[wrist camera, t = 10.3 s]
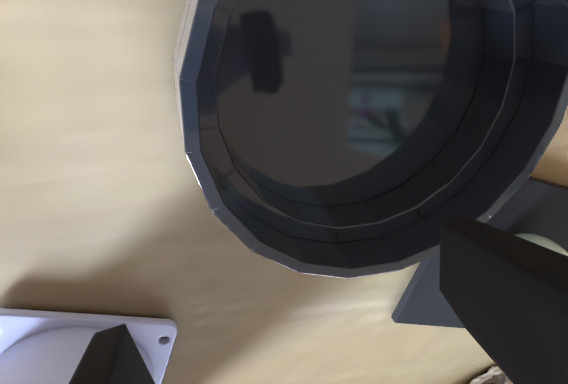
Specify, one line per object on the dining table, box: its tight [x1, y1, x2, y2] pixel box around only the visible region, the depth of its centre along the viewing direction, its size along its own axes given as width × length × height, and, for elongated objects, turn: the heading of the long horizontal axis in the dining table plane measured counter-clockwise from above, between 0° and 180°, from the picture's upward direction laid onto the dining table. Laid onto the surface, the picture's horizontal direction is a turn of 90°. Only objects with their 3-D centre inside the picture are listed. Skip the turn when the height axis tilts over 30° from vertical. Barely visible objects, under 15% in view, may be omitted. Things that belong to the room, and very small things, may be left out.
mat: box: [391, 177, 568, 328], centre depth 25 cm, size 10×10×1 cm
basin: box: [173, 0, 568, 279], centre depth 16 cm, size 14×14×4 cm
